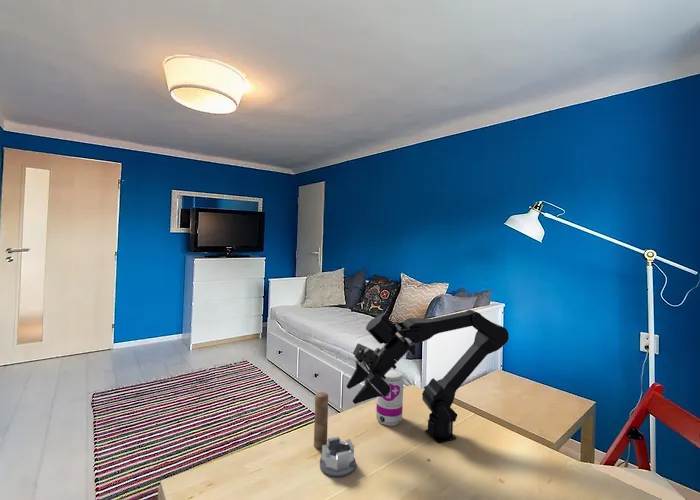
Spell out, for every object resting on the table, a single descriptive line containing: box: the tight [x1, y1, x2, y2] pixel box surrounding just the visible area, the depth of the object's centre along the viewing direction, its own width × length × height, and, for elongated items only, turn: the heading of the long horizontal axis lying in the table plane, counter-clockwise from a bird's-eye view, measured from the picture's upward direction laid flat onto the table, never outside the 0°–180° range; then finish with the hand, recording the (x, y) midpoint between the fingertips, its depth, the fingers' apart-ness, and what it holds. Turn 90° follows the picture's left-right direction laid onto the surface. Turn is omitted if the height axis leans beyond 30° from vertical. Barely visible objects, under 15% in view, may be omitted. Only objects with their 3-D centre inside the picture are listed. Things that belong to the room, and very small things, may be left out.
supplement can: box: [375, 368, 404, 427], centre depth 110 cm, size 8×8×15 cm
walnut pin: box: [313, 391, 329, 450], centre depth 95 cm, size 4×4×14 cm
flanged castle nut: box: [319, 436, 356, 479], centre depth 87 cm, size 9×9×5 cm
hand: (350, 394), depth 96 cm, fingers open, 9 cm apart
